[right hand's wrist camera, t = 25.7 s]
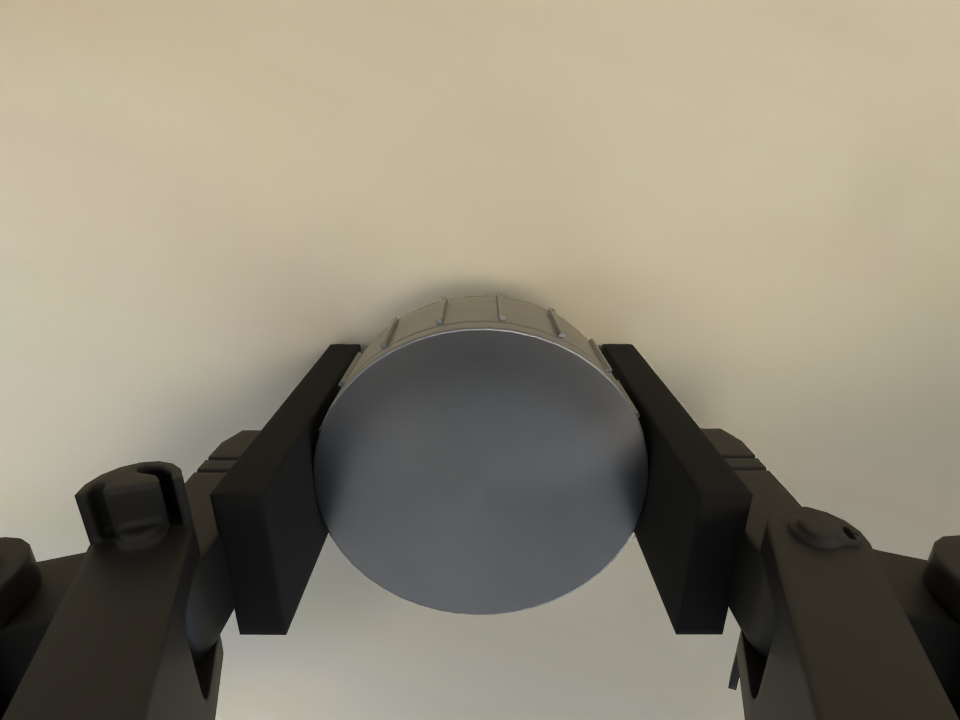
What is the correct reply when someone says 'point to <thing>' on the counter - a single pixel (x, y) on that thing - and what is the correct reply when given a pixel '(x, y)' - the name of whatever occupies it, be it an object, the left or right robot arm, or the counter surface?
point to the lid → (481, 458)
